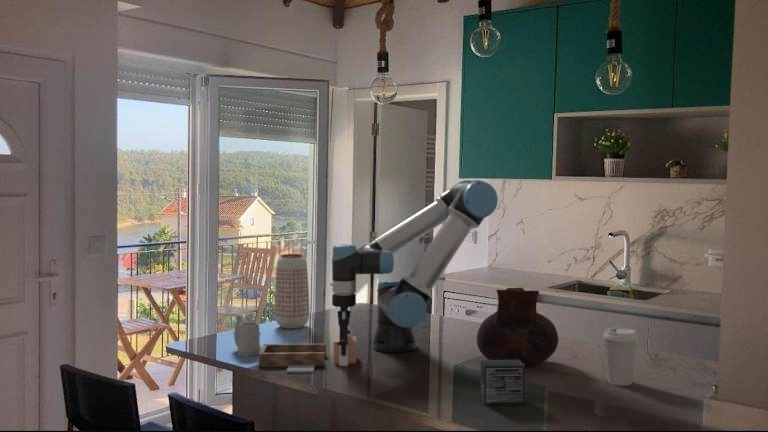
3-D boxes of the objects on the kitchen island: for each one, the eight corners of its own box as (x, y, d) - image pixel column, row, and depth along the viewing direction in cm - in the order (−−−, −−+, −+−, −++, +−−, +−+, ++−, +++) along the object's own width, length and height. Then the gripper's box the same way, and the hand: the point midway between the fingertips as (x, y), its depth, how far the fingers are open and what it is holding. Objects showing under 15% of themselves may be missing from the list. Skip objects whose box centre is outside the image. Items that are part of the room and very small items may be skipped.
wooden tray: (326, 355, 227) (326, 343, 227) (324, 365, 215) (324, 353, 215) (264, 356, 227) (264, 344, 226) (258, 366, 214) (258, 353, 214)
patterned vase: (272, 324, 274) (271, 253, 273) (305, 322, 278) (305, 252, 277) (277, 331, 262) (277, 257, 260) (312, 329, 266) (312, 256, 264)
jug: (558, 357, 226) (560, 280, 224) (556, 378, 202) (557, 293, 200) (482, 351, 233) (482, 277, 231) (470, 372, 208) (471, 289, 207)
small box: (519, 397, 185) (519, 358, 185) (525, 405, 179) (525, 365, 178) (480, 397, 185) (480, 358, 184) (484, 405, 178) (484, 365, 178)
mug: (246, 357, 225) (246, 321, 224) (225, 351, 233) (225, 315, 232) (265, 353, 230) (265, 317, 230) (244, 347, 238) (244, 312, 238)
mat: (314, 366, 215) (314, 364, 215) (313, 372, 208) (313, 370, 208) (288, 366, 214) (288, 364, 214) (286, 373, 207) (286, 371, 207)
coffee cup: (609, 375, 205) (610, 325, 204) (642, 381, 199) (643, 330, 198) (596, 383, 198) (597, 331, 197) (630, 389, 192) (631, 336, 191)
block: (356, 357, 225) (356, 336, 225) (356, 363, 218) (356, 341, 218) (334, 358, 225) (334, 336, 224) (333, 364, 218) (333, 341, 217)
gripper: (333, 287, 232) (333, 350, 234) (330, 300, 208) (330, 370, 209) (355, 287, 233) (355, 350, 234) (355, 300, 208) (355, 370, 209)
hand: (343, 359), depth 221 cm, fingers open, 12 cm apart
